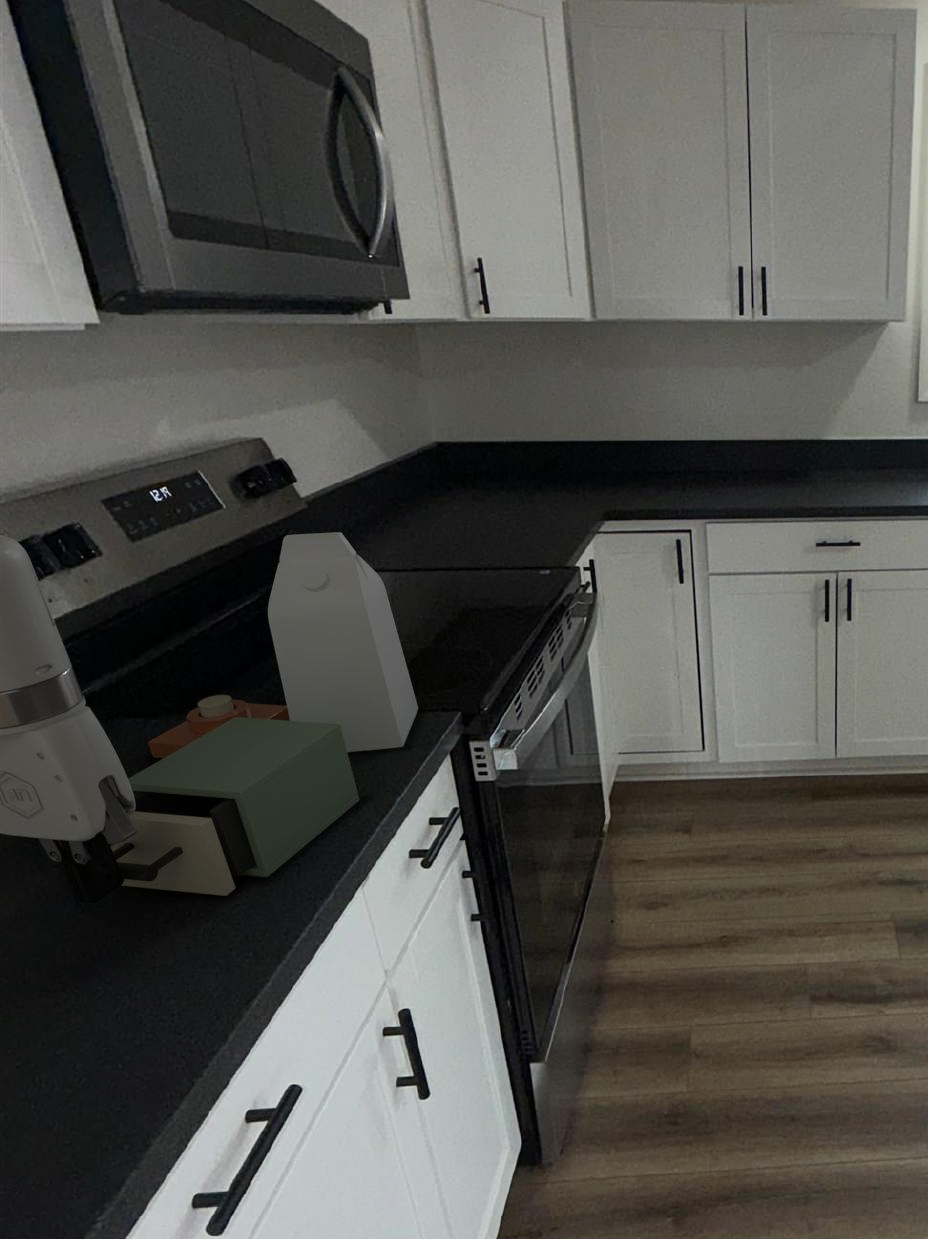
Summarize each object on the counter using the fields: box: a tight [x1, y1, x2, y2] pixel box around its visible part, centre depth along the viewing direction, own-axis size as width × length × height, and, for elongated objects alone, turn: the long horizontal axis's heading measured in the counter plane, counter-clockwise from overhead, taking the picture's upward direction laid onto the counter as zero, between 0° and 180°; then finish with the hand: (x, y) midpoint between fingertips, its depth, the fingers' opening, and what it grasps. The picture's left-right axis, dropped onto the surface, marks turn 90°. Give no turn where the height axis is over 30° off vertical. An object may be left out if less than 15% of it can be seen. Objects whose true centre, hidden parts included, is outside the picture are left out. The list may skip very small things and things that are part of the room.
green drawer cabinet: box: [128, 717, 360, 878], centre depth 91 cm, size 15×13×10 cm
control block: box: [147, 699, 290, 759], centre depth 112 cm, size 12×10×4 cm
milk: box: [267, 531, 419, 753], centre depth 109 cm, size 12×12×26 cm
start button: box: [197, 694, 235, 718], centre depth 111 cm, size 4×4×2 cm
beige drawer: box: [111, 791, 256, 897], centre depth 85 cm, size 18×11×8 cm, turn 172°
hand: (100, 892), depth 75 cm, fingers closed
